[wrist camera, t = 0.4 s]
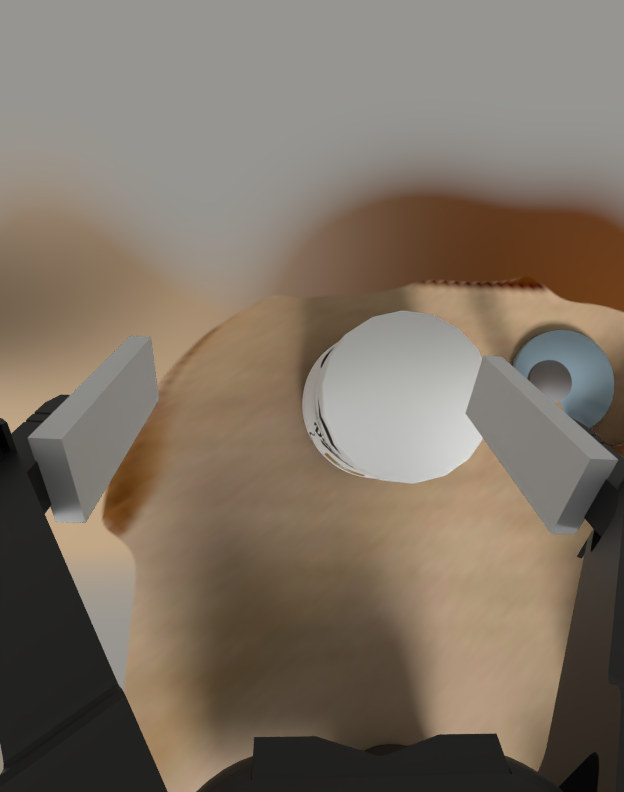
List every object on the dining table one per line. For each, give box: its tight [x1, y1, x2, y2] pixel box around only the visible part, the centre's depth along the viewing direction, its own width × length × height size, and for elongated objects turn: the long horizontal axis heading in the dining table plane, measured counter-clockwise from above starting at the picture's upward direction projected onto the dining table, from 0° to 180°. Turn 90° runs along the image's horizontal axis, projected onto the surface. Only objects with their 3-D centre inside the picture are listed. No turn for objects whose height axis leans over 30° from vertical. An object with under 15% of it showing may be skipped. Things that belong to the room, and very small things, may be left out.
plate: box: [512, 330, 614, 428], centre depth 53 cm, size 14×14×1 cm
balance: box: [527, 360, 572, 411], centre depth 46 cm, size 18×4×13 cm, turn 29°
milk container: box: [302, 310, 483, 484], centre depth 43 cm, size 17×17×18 cm
